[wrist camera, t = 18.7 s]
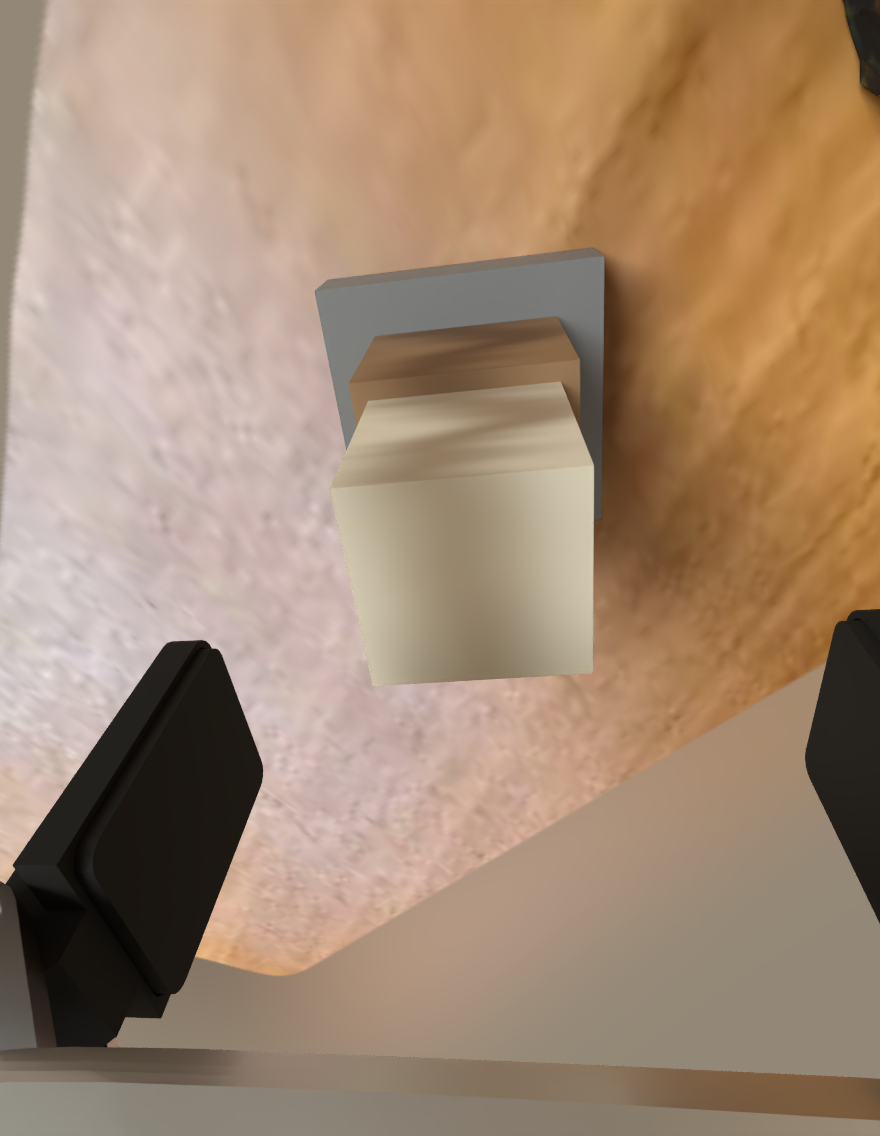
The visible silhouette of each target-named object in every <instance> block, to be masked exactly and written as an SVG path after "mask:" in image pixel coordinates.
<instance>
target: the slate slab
mask: <svg viewBox="0 0 880 1136" xmlns="http://www.w3.org/2000/svg"><path fill="white" fill-rule="evenodd" d="M315 296H316V301H317V306H318V311H319V316H320V321H321V326H322V331H323V336H324V340H325V345H326V350H327V355H328V360H329V365H330V370H331V375H332V380H333V385H334V390H335V395H336V400H337V405H338V410H339V415H340V420H341V425H342V430H343V435H344V440H345V445H346V450H347V448H348V446H349V443H350V441H351V439H352V437H353V434H354V432H355V430H356V428H357V427H356V422H355V416H354V411H353V406H352V400H351V395H350V390H349V382H350V380H351V378H352V376H353V375H354V373H355V371H356V369H357V367H358V366H359V364H360V362H361V360H362V359H363V357H364V355H365V353H366V351H367V350H368V348H369V346H370V344H371V343H372V341H373V339H374V337H375V336H381V335H390V334H399V333H408V332H417V331H426V330H435V329H444V328H453V327H462V326H471V325H480V324H489V323H498V322H507V321H516V320H525V319H534V318H543V317H553V316H557V318H558V319H559V321H560V323H561V325H562V327H563V329H564V331H565V333H566V334H567V336H568V338H569V340H570V342H571V344H572V346H573V348H574V350H575V351H576V353H577V355H578V357H579V359H580V431H581V434H582V436H583V439H584V441H585V444H586V446H587V449H588V451H589V454H590V456H591V459H592V462H593V464H594V520H602V447H603V351H604V255H602V254H601V253H600V252H598V251H597V250H596V249H594V248H586V249H578V250H570V251H561V252H553V253H545V254H537V255H529V256H520V257H512V258H504V259H496V260H488V261H479V262H471V263H463V264H455V265H447V266H438V267H430V268H422V269H414V270H406V271H397V272H389V273H381V274H373V275H365V276H356V277H348V278H340V279H332V280H327V281H326V282H325V283H324V284H322V285H321V286H320V287H319V288H318V289H316V290H315Z"/></svg>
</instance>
